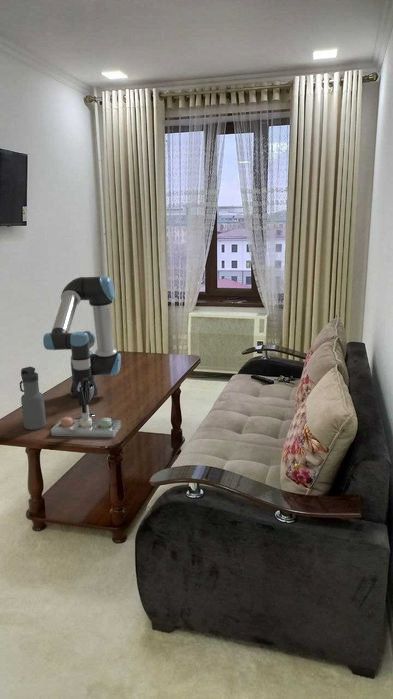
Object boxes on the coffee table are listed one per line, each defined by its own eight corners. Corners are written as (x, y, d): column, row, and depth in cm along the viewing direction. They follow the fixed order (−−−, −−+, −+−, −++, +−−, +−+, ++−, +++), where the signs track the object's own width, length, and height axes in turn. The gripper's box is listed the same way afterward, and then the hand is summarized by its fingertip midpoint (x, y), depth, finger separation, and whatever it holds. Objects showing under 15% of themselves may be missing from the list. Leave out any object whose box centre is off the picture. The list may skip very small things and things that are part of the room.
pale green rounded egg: (102, 428, 228) (101, 417, 227) (113, 428, 228) (112, 417, 227) (99, 432, 224) (98, 421, 222) (110, 432, 223) (109, 422, 222)
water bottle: (20, 426, 234) (13, 368, 227) (39, 420, 240) (33, 363, 234) (30, 432, 227) (23, 372, 220) (50, 426, 233) (44, 367, 227)
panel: (61, 425, 234) (61, 418, 233) (120, 426, 231) (120, 420, 230) (51, 435, 223) (51, 429, 222) (113, 437, 219) (113, 430, 219)
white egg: (83, 427, 229) (82, 417, 228) (93, 427, 229) (93, 417, 228) (79, 431, 225) (78, 421, 223) (90, 432, 224) (89, 421, 223)
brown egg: (64, 427, 230) (63, 416, 229) (74, 427, 230) (73, 417, 229) (60, 431, 226) (59, 421, 224) (70, 431, 225) (69, 421, 224)
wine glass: (89, 418, 241) (87, 388, 237) (75, 417, 244) (73, 387, 240) (98, 413, 248) (96, 383, 244) (85, 411, 251) (82, 382, 247)
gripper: (78, 363, 226) (82, 413, 232) (68, 372, 214) (72, 424, 219) (94, 363, 225) (98, 413, 231) (85, 372, 213) (89, 424, 219)
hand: (85, 418), depth 225 cm, fingers closed
